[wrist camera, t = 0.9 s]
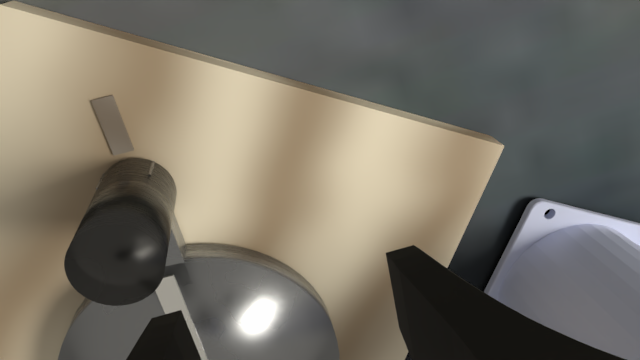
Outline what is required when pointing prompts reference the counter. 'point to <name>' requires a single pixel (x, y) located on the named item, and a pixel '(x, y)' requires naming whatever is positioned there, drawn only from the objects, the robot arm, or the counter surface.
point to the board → (217, 173)
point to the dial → (181, 281)
